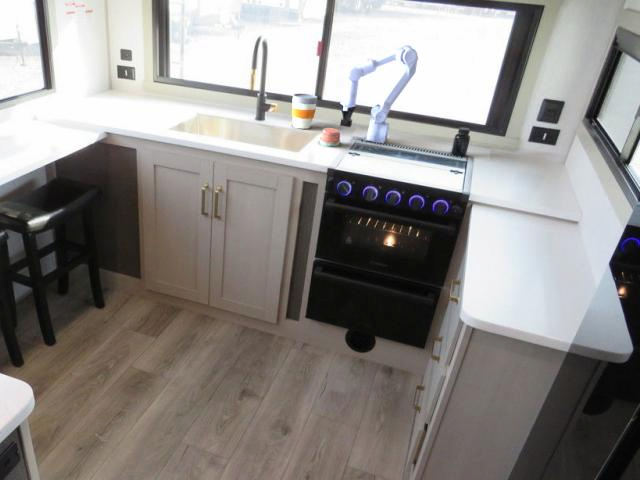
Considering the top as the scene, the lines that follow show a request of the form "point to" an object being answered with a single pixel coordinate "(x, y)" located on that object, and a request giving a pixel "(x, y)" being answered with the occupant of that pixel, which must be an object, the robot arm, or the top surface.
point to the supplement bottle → (461, 142)
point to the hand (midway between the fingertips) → (346, 122)
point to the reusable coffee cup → (303, 110)
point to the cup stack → (330, 137)
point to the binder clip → (346, 124)
